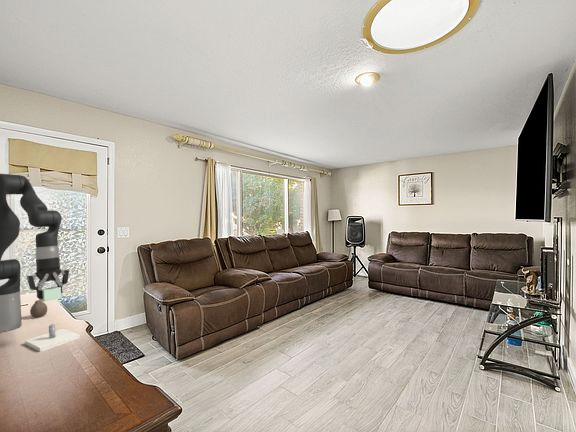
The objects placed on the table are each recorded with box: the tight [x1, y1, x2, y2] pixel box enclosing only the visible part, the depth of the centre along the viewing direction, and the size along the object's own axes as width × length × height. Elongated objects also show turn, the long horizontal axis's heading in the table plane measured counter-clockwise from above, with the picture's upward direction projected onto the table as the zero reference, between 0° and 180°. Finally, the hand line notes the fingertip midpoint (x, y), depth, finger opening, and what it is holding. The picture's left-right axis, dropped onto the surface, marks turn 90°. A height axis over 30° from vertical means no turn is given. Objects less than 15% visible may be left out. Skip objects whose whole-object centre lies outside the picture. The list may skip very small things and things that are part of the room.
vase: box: [29, 299, 48, 319], centre depth 150 cm, size 7×7×9 cm
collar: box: [38, 286, 62, 303], centre depth 117 cm, size 6×6×4 cm
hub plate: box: [24, 323, 80, 353], centre depth 116 cm, size 16×13×7 cm
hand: (50, 296), depth 117 cm, fingers closed on collar, 5 cm apart
